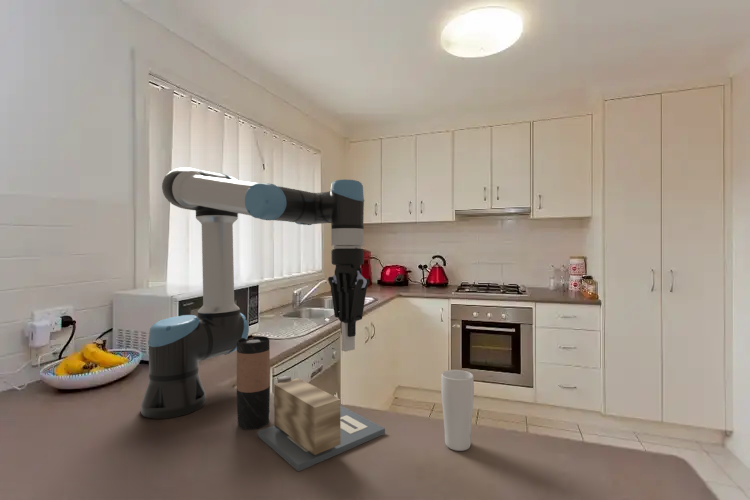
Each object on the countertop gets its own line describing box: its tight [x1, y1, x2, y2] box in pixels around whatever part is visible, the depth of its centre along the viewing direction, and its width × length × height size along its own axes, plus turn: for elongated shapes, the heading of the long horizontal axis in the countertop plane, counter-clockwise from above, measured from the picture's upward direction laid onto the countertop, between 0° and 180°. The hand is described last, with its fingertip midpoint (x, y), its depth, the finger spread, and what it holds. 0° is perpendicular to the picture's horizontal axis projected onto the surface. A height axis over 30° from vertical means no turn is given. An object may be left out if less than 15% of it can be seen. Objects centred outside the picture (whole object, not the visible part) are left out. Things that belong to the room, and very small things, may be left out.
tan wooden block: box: [273, 375, 341, 455], centre depth 80 cm, size 20×6×9 cm, turn 41°
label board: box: [257, 404, 386, 472], centre depth 84 cm, size 19×22×2 cm
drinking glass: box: [440, 369, 475, 452], centre depth 79 cm, size 7×7×15 cm
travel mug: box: [236, 335, 271, 430], centre depth 90 cm, size 8×8×20 cm
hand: (348, 349), depth 86 cm, fingers closed
